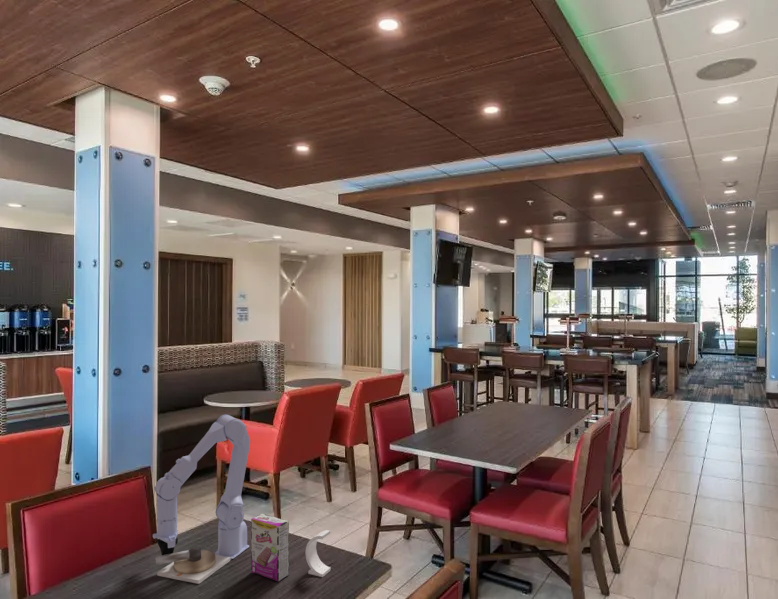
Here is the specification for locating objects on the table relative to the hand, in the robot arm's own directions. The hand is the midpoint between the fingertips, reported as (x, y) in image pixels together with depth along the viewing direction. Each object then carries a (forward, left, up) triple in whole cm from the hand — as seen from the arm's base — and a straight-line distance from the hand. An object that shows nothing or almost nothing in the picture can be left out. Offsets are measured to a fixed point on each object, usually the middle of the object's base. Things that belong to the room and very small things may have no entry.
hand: (167, 562), depth 162 cm
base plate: (-4, +7, -2) cm, 8 cm away
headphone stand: (-14, +44, -3) cm, 46 cm away
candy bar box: (-8, +31, -3) cm, 32 cm away
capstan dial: (-2, +5, -1) cm, 6 cm away
